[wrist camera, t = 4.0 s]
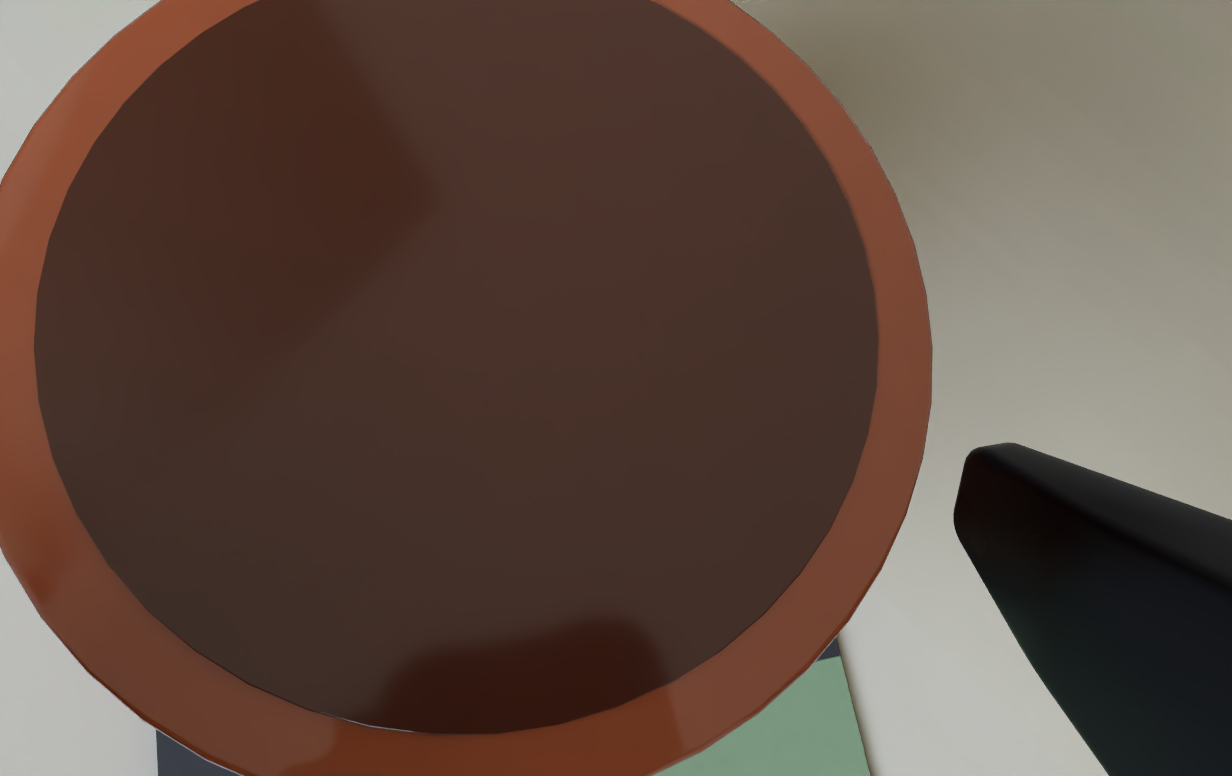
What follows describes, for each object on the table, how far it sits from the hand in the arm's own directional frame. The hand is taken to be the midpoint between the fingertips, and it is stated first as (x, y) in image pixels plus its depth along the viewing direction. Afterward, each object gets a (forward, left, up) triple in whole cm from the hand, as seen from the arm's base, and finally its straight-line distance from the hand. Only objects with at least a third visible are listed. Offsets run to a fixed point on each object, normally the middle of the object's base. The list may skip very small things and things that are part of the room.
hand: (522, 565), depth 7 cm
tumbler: (+2, +1, -9) cm, 9 cm away
